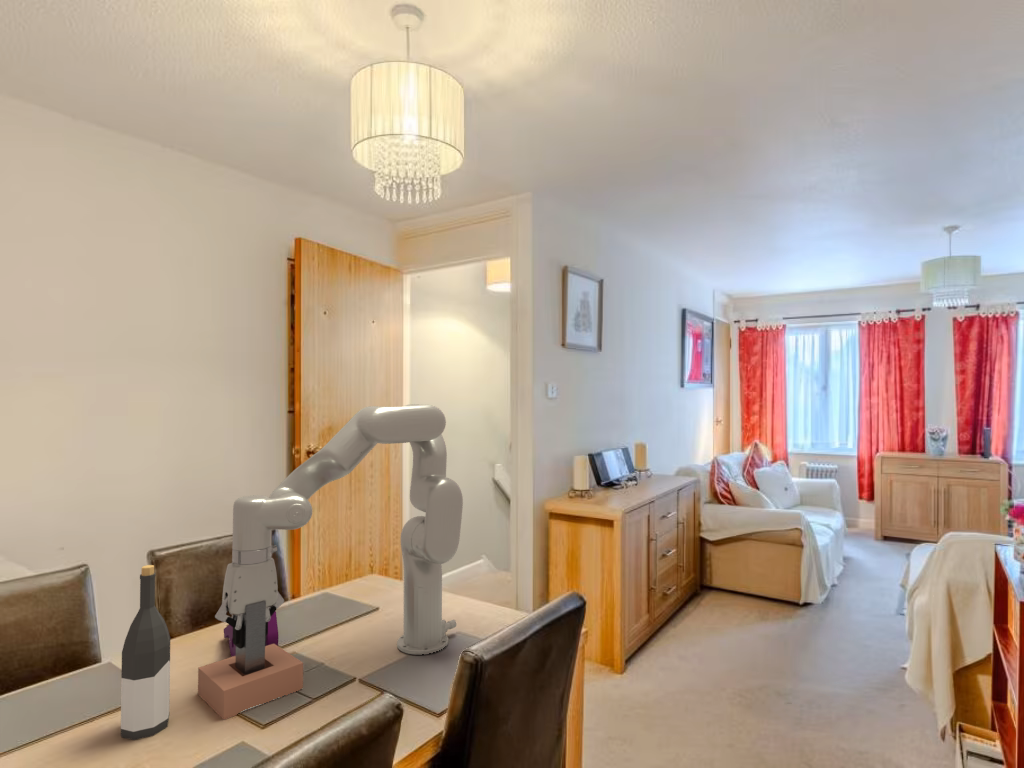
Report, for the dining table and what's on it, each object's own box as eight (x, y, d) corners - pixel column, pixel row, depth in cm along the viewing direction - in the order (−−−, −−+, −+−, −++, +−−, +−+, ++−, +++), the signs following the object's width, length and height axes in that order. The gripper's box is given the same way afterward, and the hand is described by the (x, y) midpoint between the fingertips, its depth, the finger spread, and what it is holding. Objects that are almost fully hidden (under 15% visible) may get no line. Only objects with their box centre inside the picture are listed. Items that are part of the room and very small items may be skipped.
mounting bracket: (223, 666, 145) (237, 658, 132) (220, 631, 148) (233, 620, 135) (262, 656, 151) (280, 647, 138) (259, 622, 154) (275, 611, 141)
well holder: (273, 667, 131) (273, 643, 132) (303, 689, 122) (303, 662, 122) (198, 694, 120) (198, 667, 120) (223, 719, 110) (223, 690, 110)
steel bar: (254, 660, 124) (255, 595, 124) (264, 668, 121) (265, 601, 121) (235, 667, 121) (236, 600, 121) (245, 675, 118) (246, 605, 118)
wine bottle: (135, 716, 111) (137, 560, 112) (178, 714, 112) (180, 559, 113) (109, 741, 103) (112, 573, 104) (156, 739, 104) (159, 572, 105)
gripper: (282, 545, 130) (281, 627, 130) (202, 559, 118) (201, 650, 117) (298, 551, 125) (296, 636, 124) (216, 567, 113) (214, 661, 112)
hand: (250, 642), depth 121 cm, fingers closed on steel bar, 4 cm apart
